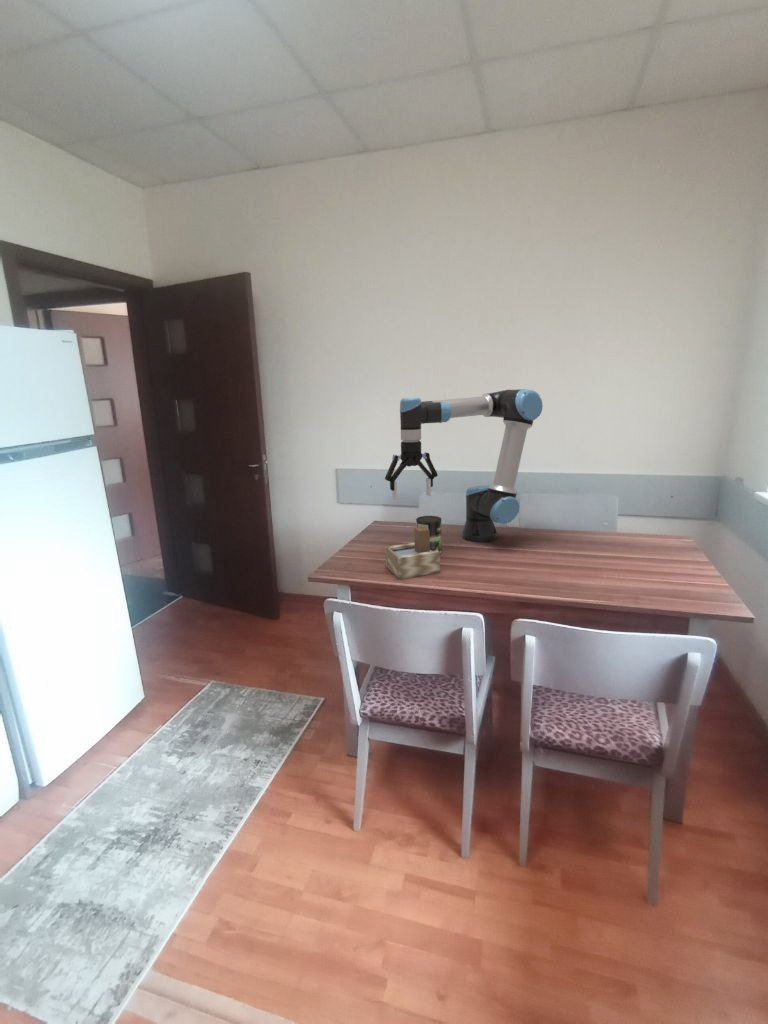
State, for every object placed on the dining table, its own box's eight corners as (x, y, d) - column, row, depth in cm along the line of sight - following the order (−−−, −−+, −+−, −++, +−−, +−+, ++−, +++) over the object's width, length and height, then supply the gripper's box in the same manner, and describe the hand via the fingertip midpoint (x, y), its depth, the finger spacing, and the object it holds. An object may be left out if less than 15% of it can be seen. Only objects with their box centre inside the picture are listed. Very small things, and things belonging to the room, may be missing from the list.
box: (424, 560, 189) (424, 541, 187) (439, 572, 176) (439, 551, 174) (386, 566, 184) (385, 546, 182) (399, 579, 172) (398, 558, 170)
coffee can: (442, 547, 203) (442, 515, 200) (440, 556, 194) (440, 522, 190) (418, 547, 205) (417, 515, 202) (415, 555, 196) (414, 521, 192)
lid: (425, 548, 187) (424, 523, 184) (437, 557, 176) (437, 531, 174) (390, 553, 182) (389, 528, 180) (401, 563, 172) (400, 537, 169)
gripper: (438, 437, 184) (438, 492, 189) (375, 441, 177) (377, 498, 182) (446, 439, 177) (446, 496, 182) (381, 443, 170) (383, 502, 175)
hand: (411, 497), depth 182 cm, fingers open, 13 cm apart
